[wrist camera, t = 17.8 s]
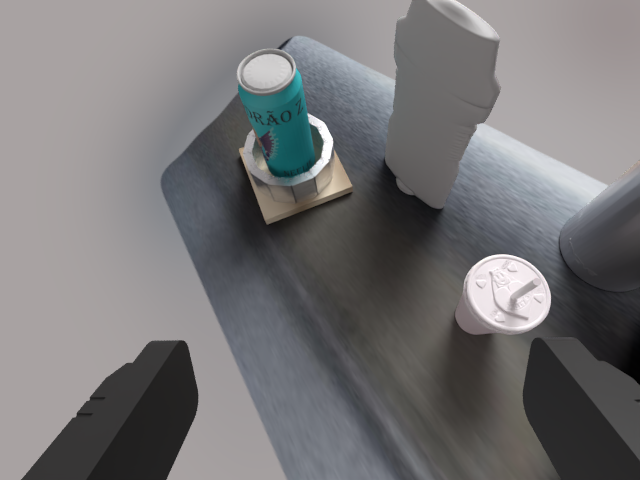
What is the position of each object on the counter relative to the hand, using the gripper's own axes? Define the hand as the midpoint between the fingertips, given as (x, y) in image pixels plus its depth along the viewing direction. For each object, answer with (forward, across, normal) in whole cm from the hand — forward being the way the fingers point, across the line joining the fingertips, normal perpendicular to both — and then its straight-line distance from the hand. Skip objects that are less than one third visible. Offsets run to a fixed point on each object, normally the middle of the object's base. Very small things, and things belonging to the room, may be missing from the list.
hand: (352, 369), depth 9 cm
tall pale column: (+38, -8, +4) cm, 39 cm away
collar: (+39, +7, +2) cm, 39 cm away
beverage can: (+39, +6, +2) cm, 39 cm away
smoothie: (+27, -12, +16) cm, 34 cm away
